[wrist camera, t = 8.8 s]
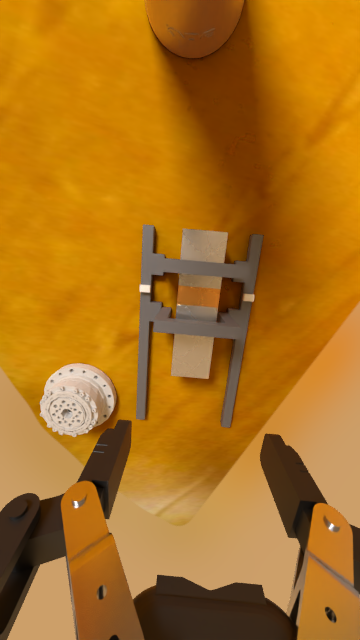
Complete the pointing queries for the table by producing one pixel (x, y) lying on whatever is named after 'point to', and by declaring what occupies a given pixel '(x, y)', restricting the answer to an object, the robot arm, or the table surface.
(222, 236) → the bar
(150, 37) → the table surface
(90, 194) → the table surface
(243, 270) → the collar frame
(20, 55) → the table surface
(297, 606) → the robot arm
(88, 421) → the mechanical component
